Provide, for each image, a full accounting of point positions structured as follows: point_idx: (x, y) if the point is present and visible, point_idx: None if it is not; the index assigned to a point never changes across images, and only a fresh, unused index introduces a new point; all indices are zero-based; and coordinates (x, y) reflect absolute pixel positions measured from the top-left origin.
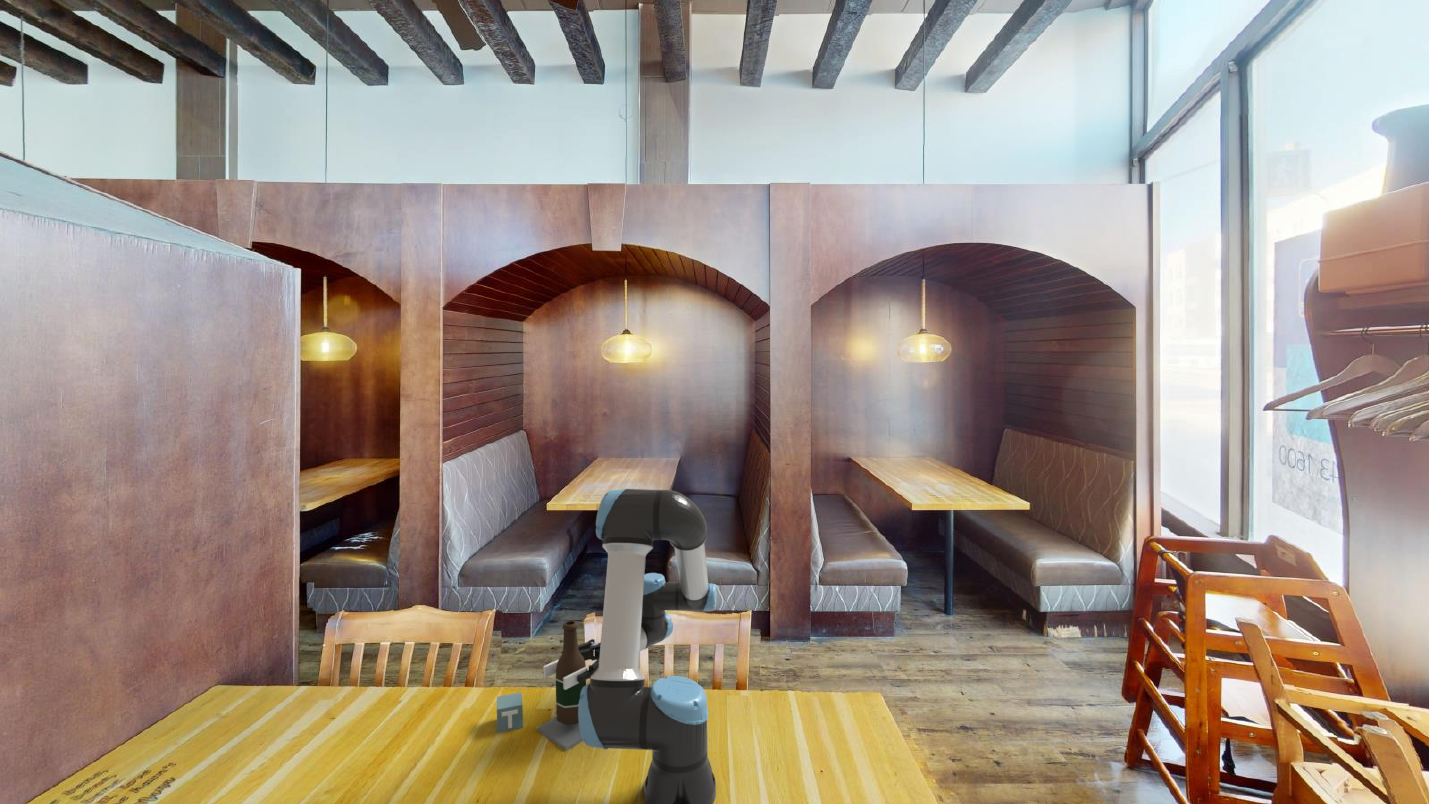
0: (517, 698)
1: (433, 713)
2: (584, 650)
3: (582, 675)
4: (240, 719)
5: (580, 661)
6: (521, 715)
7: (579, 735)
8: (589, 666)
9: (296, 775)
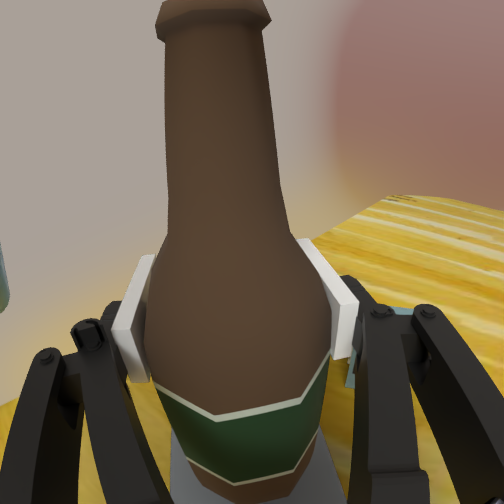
0: None
1: (452, 290)
2: (396, 422)
3: (108, 313)
4: (465, 214)
5: (152, 284)
6: (350, 361)
7: (187, 463)
8: (87, 320)
9: (368, 224)
